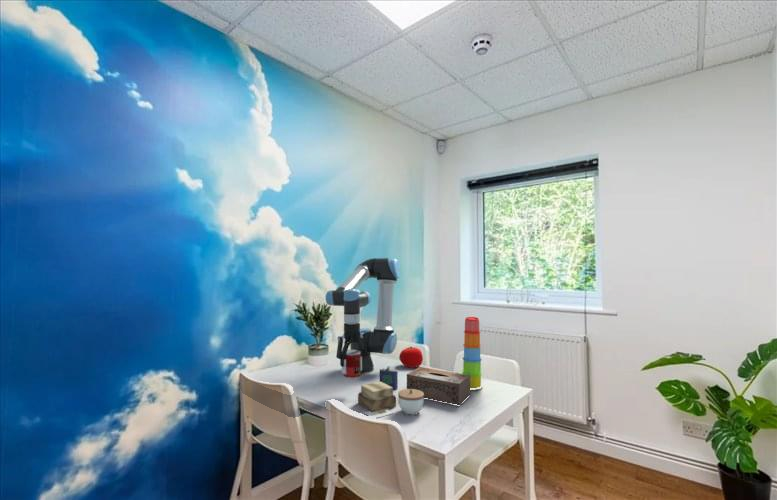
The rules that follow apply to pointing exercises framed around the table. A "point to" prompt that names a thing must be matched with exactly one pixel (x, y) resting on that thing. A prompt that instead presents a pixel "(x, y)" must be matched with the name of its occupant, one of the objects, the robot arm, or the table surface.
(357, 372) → the canned food
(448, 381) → the tissue box cover
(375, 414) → the page
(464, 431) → the table surface
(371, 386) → the folded towel stack
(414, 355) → the tomato
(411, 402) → the lidded jar
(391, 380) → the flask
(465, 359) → the stacking cups
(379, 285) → the robot arm
